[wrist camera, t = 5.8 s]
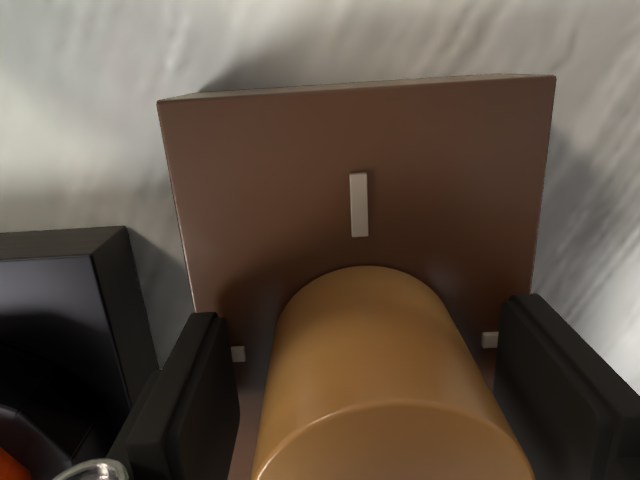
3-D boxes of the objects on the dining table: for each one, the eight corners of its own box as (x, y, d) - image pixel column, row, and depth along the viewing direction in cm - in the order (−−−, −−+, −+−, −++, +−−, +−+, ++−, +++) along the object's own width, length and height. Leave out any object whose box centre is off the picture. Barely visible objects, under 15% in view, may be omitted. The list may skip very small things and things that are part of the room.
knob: (282, 422, 12) (262, 640, 7) (262, 271, 10) (221, 430, 6) (450, 411, 12) (534, 625, 7) (456, 257, 10) (567, 407, 6)
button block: (-145, 241, 13) (-328, 309, 9) (126, 224, 13) (50, 287, 9) (-20, 510, 17) (-115, 634, 13) (189, 499, 17) (153, 621, 13)
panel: (181, 93, 12) (136, 102, 9) (511, 72, 12) (578, 74, 9) (238, 445, 16) (221, 530, 13) (480, 433, 16) (517, 516, 13)
